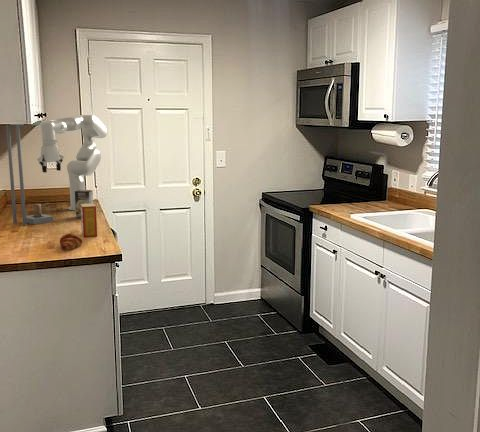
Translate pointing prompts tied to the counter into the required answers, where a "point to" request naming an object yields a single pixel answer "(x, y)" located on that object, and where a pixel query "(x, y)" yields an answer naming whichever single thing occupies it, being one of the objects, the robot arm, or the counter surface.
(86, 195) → the coffee box
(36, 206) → the peg
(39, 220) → the socket
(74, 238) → the croissant
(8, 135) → the grey two-post stand
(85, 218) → the baking soda box
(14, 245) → the counter surface
